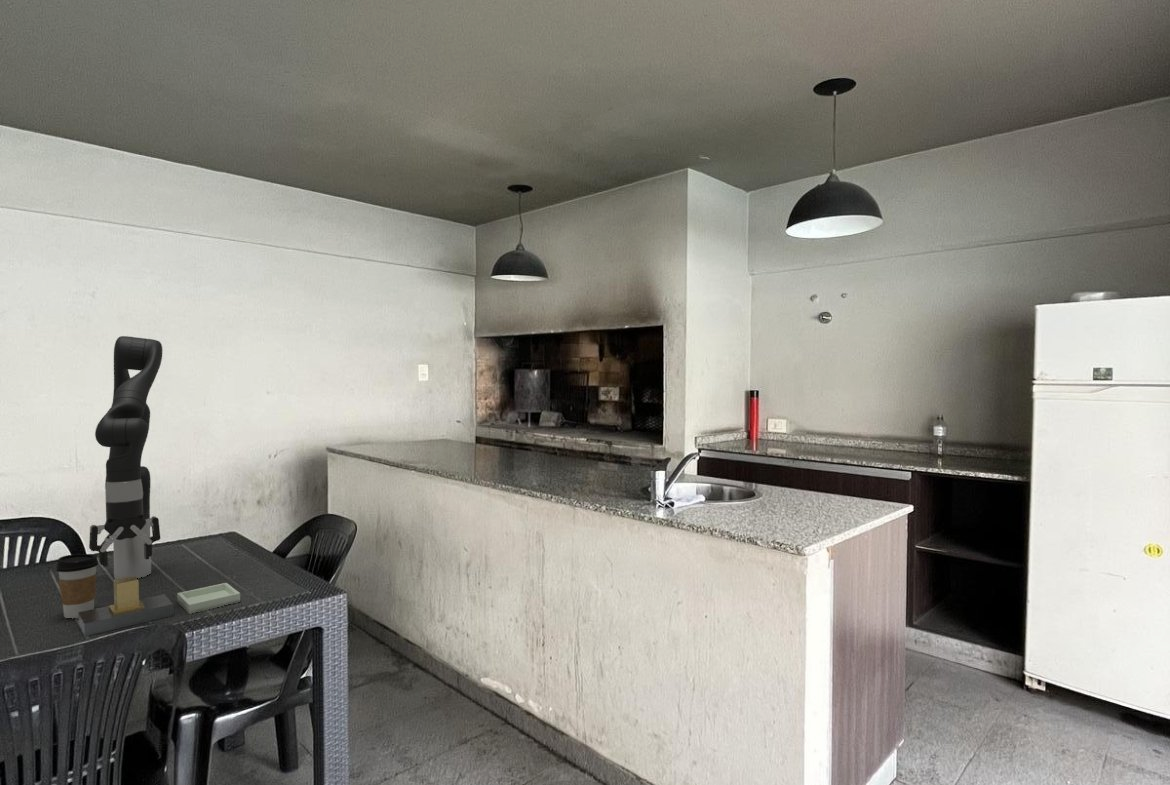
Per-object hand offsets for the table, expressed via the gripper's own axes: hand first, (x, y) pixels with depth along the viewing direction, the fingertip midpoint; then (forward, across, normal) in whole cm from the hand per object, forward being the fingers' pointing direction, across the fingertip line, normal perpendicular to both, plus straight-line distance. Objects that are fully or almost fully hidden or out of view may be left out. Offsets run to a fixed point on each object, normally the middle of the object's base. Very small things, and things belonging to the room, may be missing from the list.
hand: (126, 562), depth 159 cm
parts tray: (+15, -18, +1) cm, 23 cm away
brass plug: (+14, 0, 0) cm, 15 cm away
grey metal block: (+14, 0, 0) cm, 15 cm away
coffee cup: (+15, +8, -13) cm, 21 cm away
